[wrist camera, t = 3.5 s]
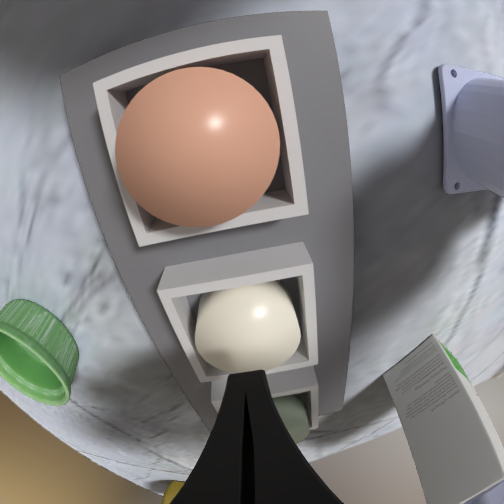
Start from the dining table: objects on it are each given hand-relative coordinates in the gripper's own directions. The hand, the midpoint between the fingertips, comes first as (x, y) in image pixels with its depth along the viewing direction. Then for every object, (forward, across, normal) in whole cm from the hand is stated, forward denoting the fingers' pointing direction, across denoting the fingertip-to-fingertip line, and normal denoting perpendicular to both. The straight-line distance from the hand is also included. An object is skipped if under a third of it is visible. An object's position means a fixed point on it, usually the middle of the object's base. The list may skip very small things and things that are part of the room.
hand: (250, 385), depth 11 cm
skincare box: (+8, -15, +14) cm, 22 cm away
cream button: (+5, 0, 0) cm, 5 cm away
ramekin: (+8, +18, +2) cm, 20 cm away
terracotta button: (+4, 0, -9) cm, 10 cm away
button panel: (+7, 0, 0) cm, 7 cm away
